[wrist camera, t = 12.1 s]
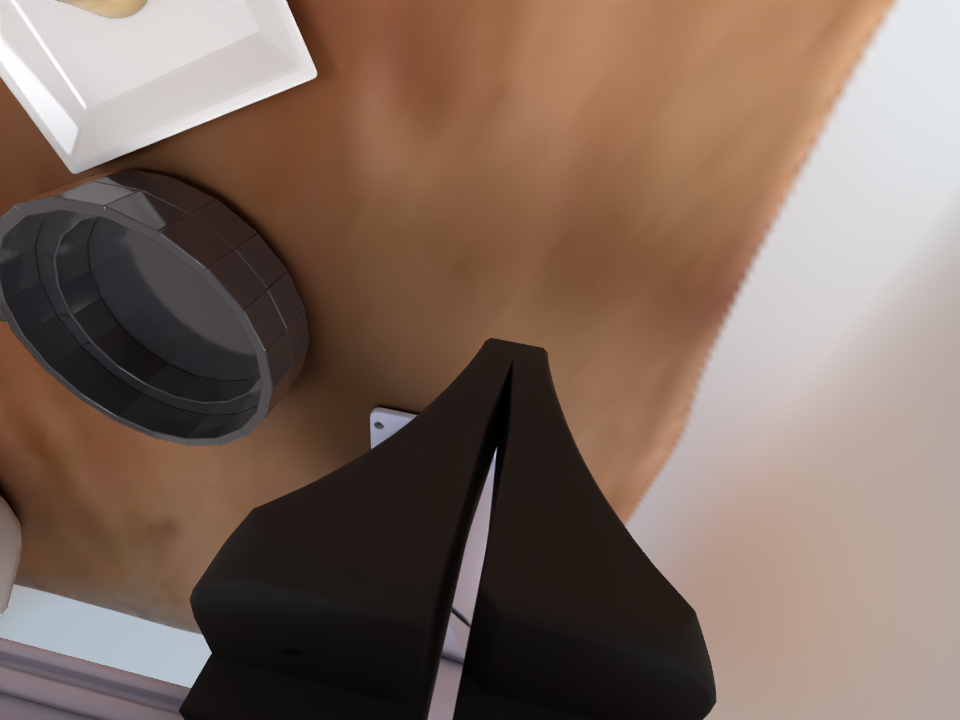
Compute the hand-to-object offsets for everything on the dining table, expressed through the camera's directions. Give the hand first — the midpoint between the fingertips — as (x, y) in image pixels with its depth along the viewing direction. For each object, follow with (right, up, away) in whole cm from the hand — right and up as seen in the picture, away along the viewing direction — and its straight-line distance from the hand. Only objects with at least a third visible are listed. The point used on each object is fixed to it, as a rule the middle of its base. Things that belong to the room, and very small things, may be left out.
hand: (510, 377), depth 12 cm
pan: (-15, +3, +13) cm, 20 cm away
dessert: (-13, +14, +5) cm, 20 cm away
